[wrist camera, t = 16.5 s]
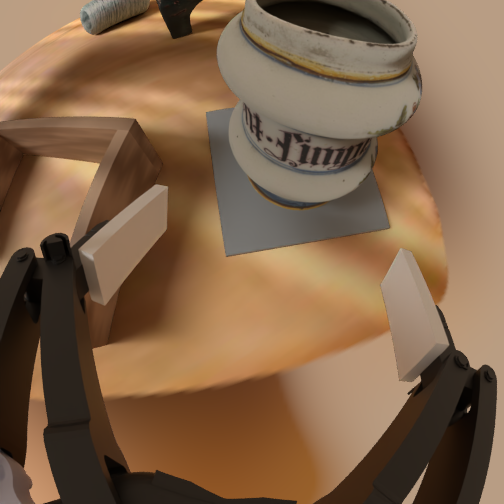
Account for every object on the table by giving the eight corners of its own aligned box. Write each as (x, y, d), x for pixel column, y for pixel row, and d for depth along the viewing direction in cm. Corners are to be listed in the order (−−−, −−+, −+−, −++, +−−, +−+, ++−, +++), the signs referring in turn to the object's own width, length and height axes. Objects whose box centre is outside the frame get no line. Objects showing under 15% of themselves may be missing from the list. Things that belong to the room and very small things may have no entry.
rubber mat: (206, 114, 27) (205, 112, 27) (342, 101, 28) (343, 99, 27) (226, 256, 24) (225, 255, 24) (387, 228, 25) (389, 227, 24)
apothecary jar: (228, 120, 26) (208, -34, 9) (337, 115, 27) (390, -18, 9) (240, 229, 24) (209, 76, 7) (366, 217, 25) (494, 106, 7)
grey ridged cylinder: (75, 39, 28) (75, -6, 20) (86, 36, 34) (85, -3, 26) (149, 23, 32) (151, -23, 24) (149, 23, 37) (150, -16, 30)
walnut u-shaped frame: (107, 344, 23) (58, 356, 15) (-18, 267, 24) (-56, 259, 16) (162, 163, 26) (135, 118, 18) (23, 147, 28) (-7, 122, 20)
